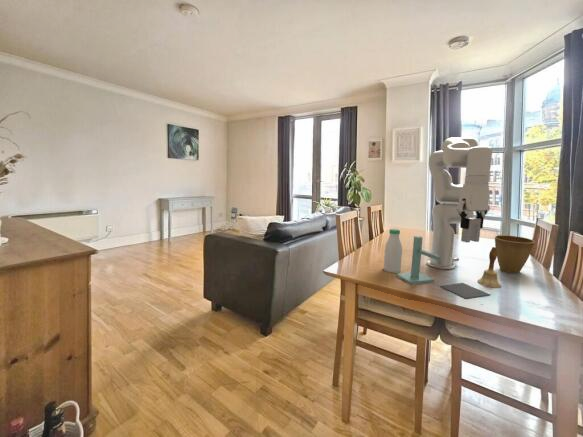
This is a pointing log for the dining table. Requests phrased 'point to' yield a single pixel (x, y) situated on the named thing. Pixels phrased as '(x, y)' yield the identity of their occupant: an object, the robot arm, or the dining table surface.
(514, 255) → the plant pot
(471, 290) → the mat
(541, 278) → the dining table surface
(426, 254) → the stand
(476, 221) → the link
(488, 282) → the hand bell
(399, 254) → the milk bottle
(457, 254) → the dining table surface
